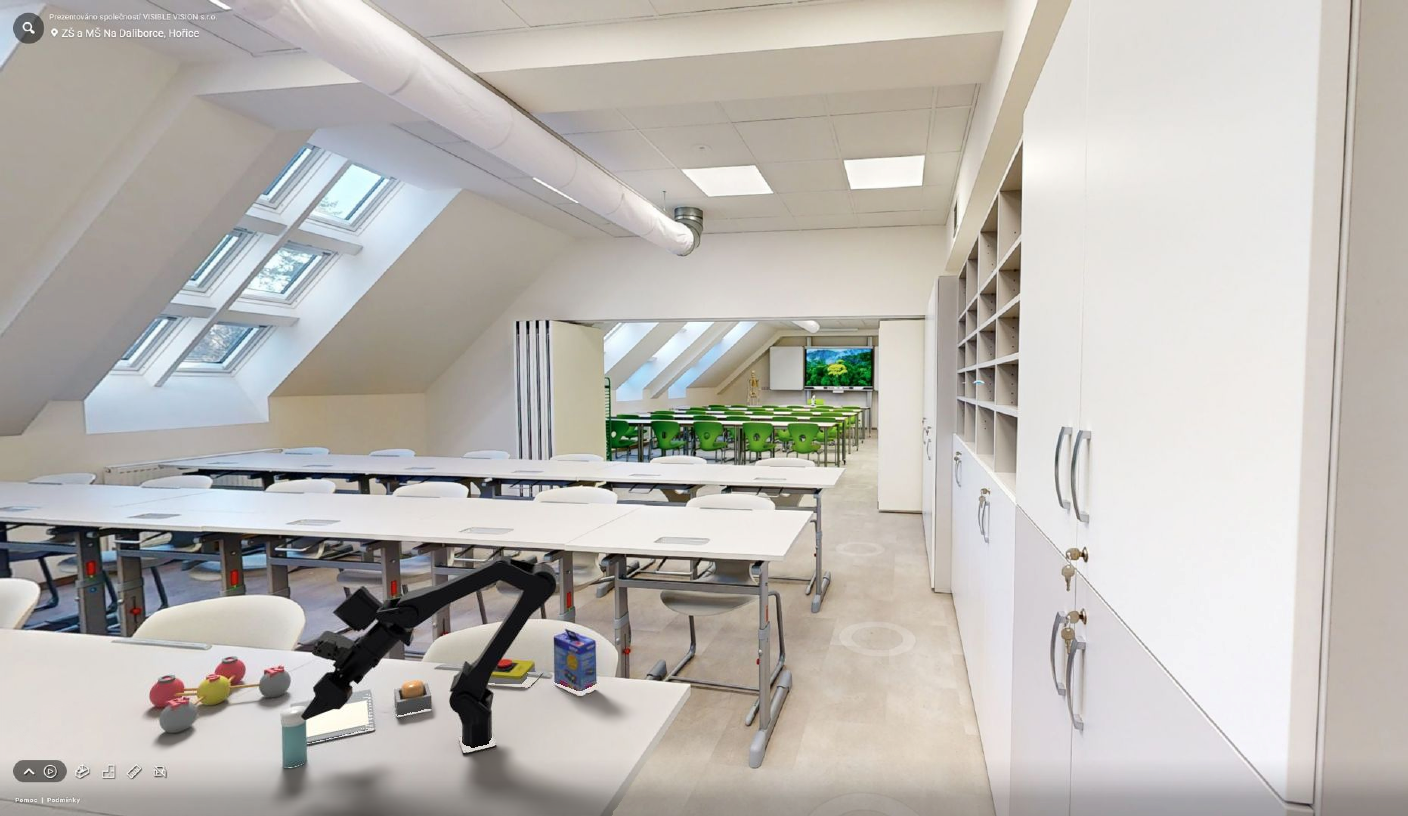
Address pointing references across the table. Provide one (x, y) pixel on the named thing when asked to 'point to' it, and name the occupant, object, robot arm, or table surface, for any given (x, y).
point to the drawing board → (340, 718)
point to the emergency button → (512, 671)
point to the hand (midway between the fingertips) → (311, 706)
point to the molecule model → (210, 692)
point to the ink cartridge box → (574, 661)
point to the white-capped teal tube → (293, 737)
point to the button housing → (412, 701)
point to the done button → (412, 689)
